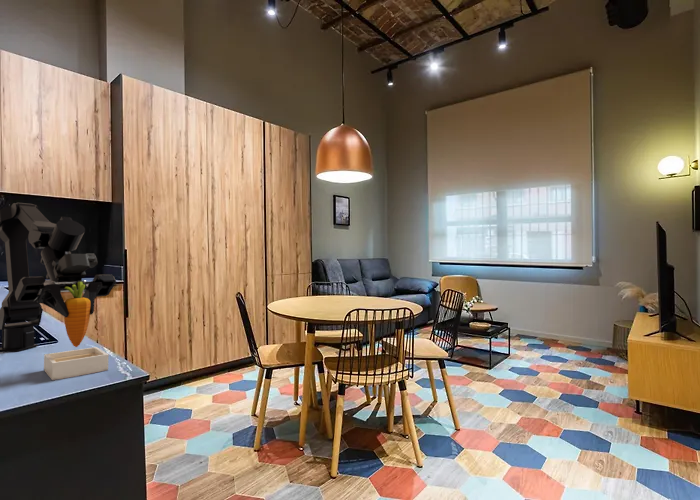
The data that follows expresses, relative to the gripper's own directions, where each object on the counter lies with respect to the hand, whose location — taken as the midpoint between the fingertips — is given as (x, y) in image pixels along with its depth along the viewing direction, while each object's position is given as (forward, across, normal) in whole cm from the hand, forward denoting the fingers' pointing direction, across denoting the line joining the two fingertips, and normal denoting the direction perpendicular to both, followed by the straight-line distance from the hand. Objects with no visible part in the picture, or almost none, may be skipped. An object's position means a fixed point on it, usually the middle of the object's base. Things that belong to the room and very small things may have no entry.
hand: (79, 314), depth 86 cm
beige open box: (+8, 0, +10) cm, 13 cm away
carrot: (+4, 0, +6) cm, 8 cm away
